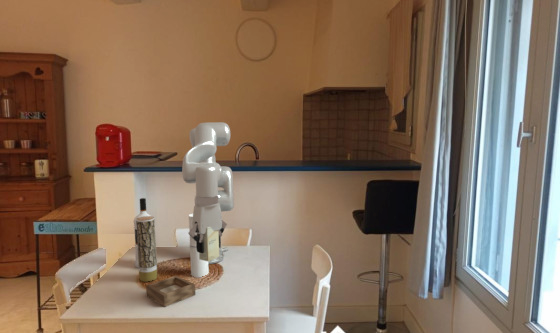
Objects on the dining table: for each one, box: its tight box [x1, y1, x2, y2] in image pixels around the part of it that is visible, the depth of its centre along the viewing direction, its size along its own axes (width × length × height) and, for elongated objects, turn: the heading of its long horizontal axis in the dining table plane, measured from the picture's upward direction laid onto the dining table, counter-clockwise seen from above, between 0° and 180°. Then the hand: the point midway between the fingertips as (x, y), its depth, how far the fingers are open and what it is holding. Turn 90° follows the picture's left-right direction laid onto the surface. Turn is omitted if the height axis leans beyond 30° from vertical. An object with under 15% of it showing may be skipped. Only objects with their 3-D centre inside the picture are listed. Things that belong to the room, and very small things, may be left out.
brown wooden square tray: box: [145, 275, 196, 308], centre depth 144 cm, size 12×12×4 cm
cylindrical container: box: [188, 213, 209, 278], centre depth 162 cm, size 7×7×25 cm
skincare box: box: [199, 227, 219, 261], centre depth 141 cm, size 6×4×12 cm
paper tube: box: [136, 215, 158, 283], centre depth 158 cm, size 7×7×25 cm
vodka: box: [133, 197, 158, 269], centre depth 173 cm, size 9×9×30 cm
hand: (208, 249), depth 141 cm, fingers closed on skincare box, 6 cm apart
